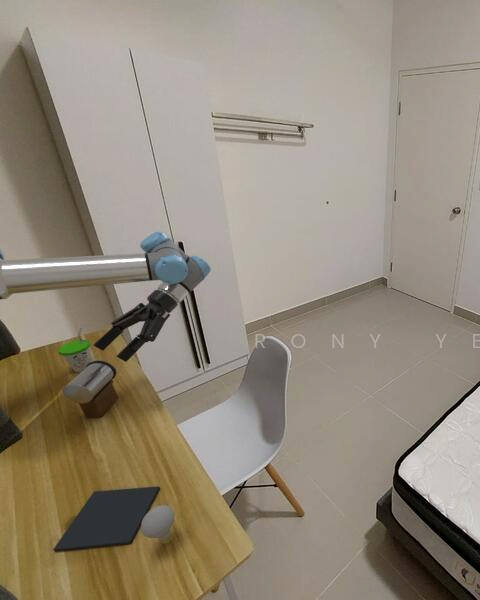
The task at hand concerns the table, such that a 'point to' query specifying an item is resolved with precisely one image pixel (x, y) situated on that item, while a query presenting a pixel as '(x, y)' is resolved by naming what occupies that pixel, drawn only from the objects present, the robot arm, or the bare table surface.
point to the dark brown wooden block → (100, 402)
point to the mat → (108, 519)
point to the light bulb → (158, 523)
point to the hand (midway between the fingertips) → (109, 353)
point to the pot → (89, 382)
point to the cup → (77, 353)
